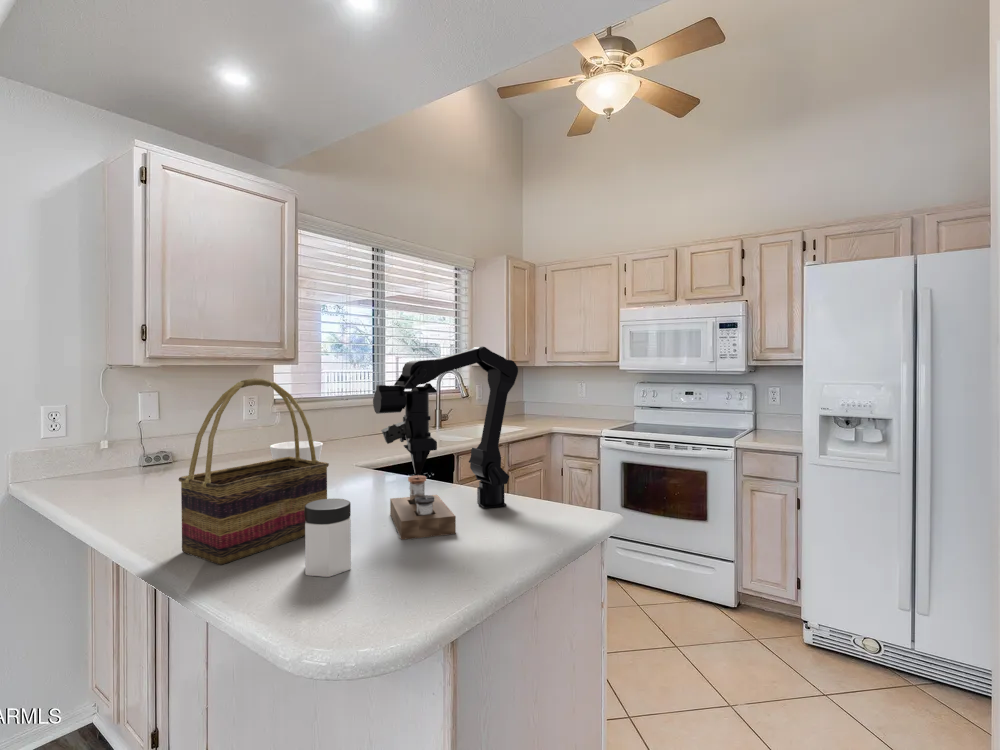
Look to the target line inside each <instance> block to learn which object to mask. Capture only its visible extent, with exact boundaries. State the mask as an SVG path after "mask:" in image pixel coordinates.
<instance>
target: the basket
mask: <svg viewBox="0 0 1000 750" xmlns="http://www.w3.org/2000/svg"><path fill="white" fill-rule="evenodd" d="M251 386H263V387H267V388H269V387H271V388H272V389H273V390H274V391H275V392H276V393H277V394H278V395H279V396H280V397H281V398H282V400H283V402H284V404H285V406H286V407H287V410H288V412H289V415H290V419H291V423H292V426H293V427H292V428H293V434H294V435H293V437H294V441H295V454H296V456H295V457H296V458H295V457H284V458H279V459H274V460H273V459H269V460H265V461H259V462H256V463H255V462H254V463H250V464H245V465H244V464H243V465H239V466H234V467H233V466H232V467H228V468H227V467H226V468H222V469H216V470H212V462H213V452H214V451H213V450H214V441H215V436H216V433H217V430H218V427H219V424H220V421H221V417H222V415H223V413H224V411H225V410H226V407H227V406H228V404H229V403H230V401H231V400H232V398H233V397H234V395H236V394H237V393H238V391H240V389H243V388H246V387H251ZM292 405H293V406H292ZM293 407H294V408H295V409H296V411H297V412H298V415H299V416H300V418H301V421H302V423H303V425H304V428H305V431H306V435H307V441H309V446H310V451H311V460H306V459H301V458H300V452H299V441H300V440H299V439H300V438H299V426H298V423H297V420H296V419H297V418H296V415H295V411H294V408H293ZM215 413H216V414H215ZM214 414H215V417H214V420H213V423H212V427H211V429H210V432H209V436H208V440H207V441H208V442H207V452H206V462H205V471H204V472H201V473H195V471H196V465H197V462H198V458H199V453H200V448H201V443H202V440H203V436H204V434H205V432H206V430H207V428H208V426H209V424H210V422H211V420H212V418H213V416H214ZM312 435H313V434H312V429H311V426H310V423H309V422H308V419H307V417H306V415H305V412H304V410H303V409H302V408H301V406H300V404H299V403H298V402H297V401H296V399H295V398H294V397H293V395H292V394H291V393H289V391H287V390H286V389H284V388H283V387H281V386H280V385H279V384H277V383H276V382H275V381H271V380H270V379H265V378H259V377H258V378H256V377H255V378H247V379H244V380H241V381H238V382H236V383H235V384H234V385H233V386H231V387H230V388H229V389H227V390H226V391H225V392H224V393H222V395H221V396H220V397H219V398H218V400H217V401H216V402H215V403H214V405H213V406H212V407H211V408H210V410H209V411H208V413H207V414H206V417H205V419H204V421H203V423H202V424H201V426H200V429H199V430H198V432H197V435H196V438H195V443H194V446H193V451H192V456H191V460H190V464H189V469H188V474H187V475H183V476H180V477H179V478H178V482H180V483H181V484H180V486H181V487H180V489H181V492H180V493H181V497H180V498H181V504H180V505H181V552H182V553H185V554H187V555H190V556H194V557H197V558H198V559H202V560H205V561H208V562H210V563H214V564H217V565H220V566H221V565H225V564H229V563H231V562H235V561H237V560H240V559H243V558H247V557H249V556H252V555H255V554H257V553H261V552H263V551H266V550H269V549H272V548H275V547H277V546H280V545H281V546H282V545H284V544H287V543H289V542H292V541H295V540H298V539H301V538H305V516H304V510H305V505H306V504H308V503H310V502H312V501H316V500H322V499H328V467H329V466H330V463H328V462H325V461H320V460H319V461H317V460H316V456H315V449H314V444H313V441H314V439H313V436H312Z"/></svg>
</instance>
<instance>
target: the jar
mask: <svg viewBox="0 0 1000 750" xmlns="http://www.w3.org/2000/svg"><path fill="white" fill-rule="evenodd" d="M351 514H352V513H351V501H350V500H348V499H345V498H327V499H322V500H316V501H312V502H310V503H308V504H306V505H305V510H304V516H305V536H304V546H305V547H304V549H305V551H304V552H305V553H304V555H305V556H304V559H305V560H304V561H305V562H304V565H305V567H304V569H305V571H304V573H305V575H306V576H311V577H321V578H322V577H324V578H329V577H333V576H335V575H338V574H341V573H344V572H347V571H349V570H351V569H352V546H351V545H352V544H351V543H352V539H351V537H352V535H351V534H352V533H351V531H352V530H351V527H352V526H351V525H352V523H351V521H352V520H351V516H352V515H351Z"/></svg>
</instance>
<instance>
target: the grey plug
mask: <svg viewBox="0 0 1000 750" xmlns="http://www.w3.org/2000/svg"><path fill="white" fill-rule="evenodd" d="M430 495H431V494H430ZM430 495H429V494H425V495H422V496H417V497H415V502H416V503H417V516H423V515H433V502H434V496H430Z"/></svg>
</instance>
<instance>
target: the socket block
mask: <svg viewBox="0 0 1000 750" xmlns="http://www.w3.org/2000/svg"><path fill="white" fill-rule="evenodd" d="M430 496H434V502H433V515H423V516H417V504H410V496H405V497H403V496H402V497H393V498H389V500H390V501H389V504H390V505H389V507H390V508H389V509H390V510H389V511H390V512H389V514H390V516H391V519H392V521H393V524H394V526H395V528H396V530H397V533H398V535H399V537H400V540H401V541H402V540H405V541H406V540H410V539H411V540H413V539H421V538H422V539H423V538H430V537H439V536H449V535H456V533H457V532H456V531H457V530H456V529H457V527H456V525H457V524H456V522H457V521H456V515H455V513H454V512H453V511H452V510H451V509H450V508H449V507H448V505H447V504H446V503H445V502H444V501H443V499H441V498H440V496H439V495H438V494H430Z"/></svg>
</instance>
